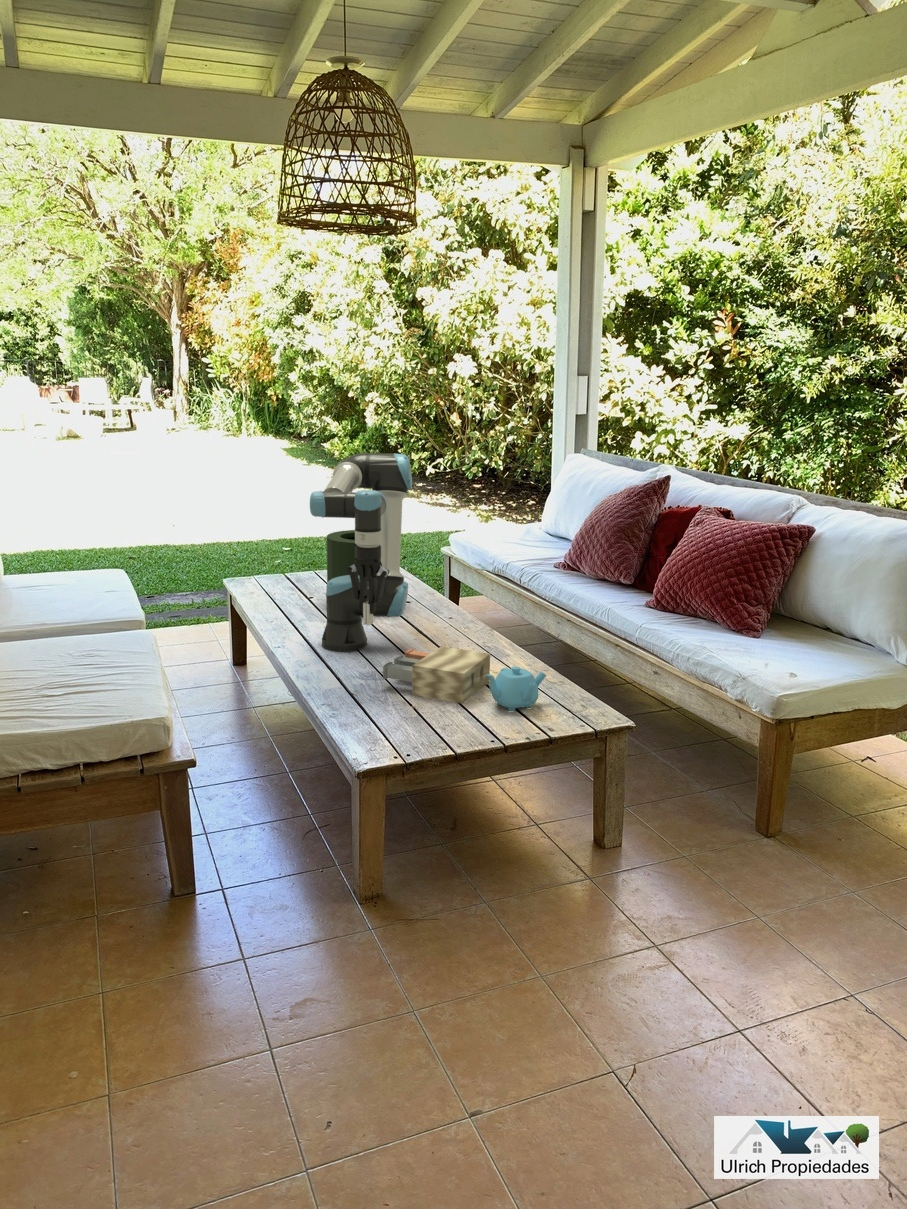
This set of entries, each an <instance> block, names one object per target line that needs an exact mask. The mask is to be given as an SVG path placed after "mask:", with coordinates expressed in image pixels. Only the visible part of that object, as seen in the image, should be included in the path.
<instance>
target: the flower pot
mask: <svg viewBox="0 0 907 1209" xmlns="http://www.w3.org/2000/svg"><path fill="white" fill-rule="evenodd" d="M356 545H357V544H355V529H351V530H350V529H348V530H339V531H333V532H331V533H330V532H329V534H327V535H326V574H327V575H326V584H327V583H328V581H329V580H331V579H333V578H336V577H340V576H346V575H350V574H349V572H348V570H347V567H349V566H352V565H354V562H355V560H356V558H355V546H356ZM357 573H358V575H359V572H358V570H357ZM362 618H363V616H362Z"/></svg>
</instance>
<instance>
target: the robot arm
mask: <svg viewBox="0 0 907 1209" xmlns="http://www.w3.org/2000/svg"><path fill="white" fill-rule="evenodd" d="M332 472H333V473H332V478H331V479H330V481H329V483H328V484H327V486H326V487H325V489H324V490H323V491H322V490H318V491H313V492H311V494H310V498H309V511H310V514H311V516H313V517H315V518H316V517H319V518H322V519H323V518H338V519H339V518H340V519H341V518H344V519H354V530H355V544H357V545H356V546H355V558H356V560H355V562H354V565H352V566H349V567H347V570H348V572H349V574H350V575H346V576H340V577H336V578H333V579H331V580H329V581H328V583H327V582H326V591H325V592H326V593H325V598H326V599H325V602H326V603H325V605H326V625H325V627H324V631H323V634H322V637H321V646H322V648H324V649H325V650H328V651H333V652H354V651H359V650H363V649H364V648H366V647H367V646H368V638H367V635H366V631H365V628H364V626H371V625H373V624H374V617H375V618H376V617H380V618H381V617H383V618H399V617H401V616H402V615H403V614H404V612H405V610H406V609H405V608H406V605H407V601H408V600H407V599H408V593H409V583H408V582H406V581H405V576H404V575H403V574H402V573H401V570H400V569H401V568H400V567H401V546H402V545H401V543H402V542H401V540H402V522H403V521H402V518H403V516H402V515H403V500H404V499H405V498H406V497H407V496H408V491H410V490H412V489H413V477H412V469H411V463H410V458H409V457H408V455H406V454H404V453H403V454H402V453H390V452H389V453H387V452H386V453H383V452H382V453H380V452H379V453H378V452H377V453H374V452H370V453H369V452H360V453H356V454H353V455H351V456H349V457H346V458H344V459H343V460H341V461H340V462H338V464H337V465H336V466H335V467H334V470H333V471H332ZM358 488H360V489H364V490H358V491H355V492H353V491H354V490H356V489H358ZM357 570H358V572H359V575H358V573H357ZM362 616H363V617H362Z"/></svg>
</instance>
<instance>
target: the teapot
mask: <svg viewBox="0 0 907 1209" xmlns="http://www.w3.org/2000/svg"><path fill="white" fill-rule="evenodd" d="M485 675H486V676H488V678H489V691H490V693H491V697H492V699H493V700H494V701H495V702H496V704H497V705H498V706H502V707H504V708H507V710H508V711H507V712H509V711H514V712H516V709H517V708H524V707H525V708H524V709H526V708H531V707H532V708H533V706H532V705H534V704H535V703H536V702H537V700H539V688H538V687H539V686H540V684H541V683H543V681H544V679H545V678H546V677H547V674H546V673H544V672H543V671H540V672H539V673H538V674H537V675H536V677H535V676H534V675H533V673H532V672H530V671H529V670H528V669H525V668H521V667H520V666H512V667H511V668H508V667H503V668H501V669H500V671H499V672H498V673H497V675H496V677H495V676H494V675H493V674H491V673H490V674H485ZM532 708H531V709H532Z"/></svg>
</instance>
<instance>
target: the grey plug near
mask: <svg viewBox="0 0 907 1209" xmlns="http://www.w3.org/2000/svg"><path fill="white" fill-rule="evenodd" d="M412 670H413V667H410V666H404V665H398V664H394V661H393V662H392V661H388V662H387V663H385V664H383V666H382V676H383V677H382V679H384V680H386V679H391V680H396V681H402V682H408V683H412Z"/></svg>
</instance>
